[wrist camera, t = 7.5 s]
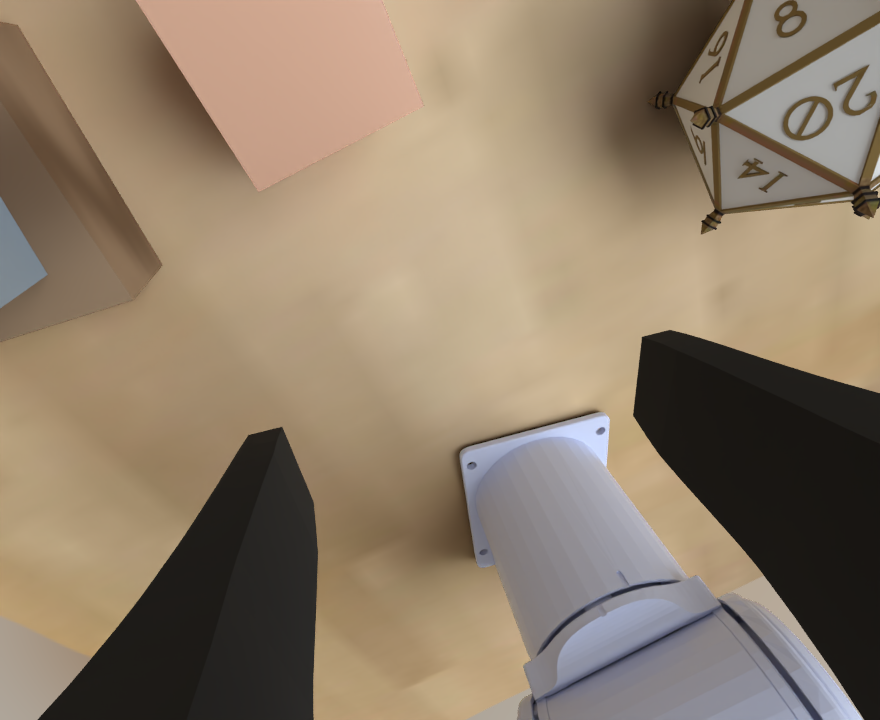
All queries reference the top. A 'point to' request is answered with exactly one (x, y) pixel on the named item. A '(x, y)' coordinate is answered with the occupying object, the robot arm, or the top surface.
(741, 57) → the game die
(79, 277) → the walnut base
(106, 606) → the top surface
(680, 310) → the top surface
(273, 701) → the robot arm
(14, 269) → the slate block
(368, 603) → the top surface
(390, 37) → the terracotta block
